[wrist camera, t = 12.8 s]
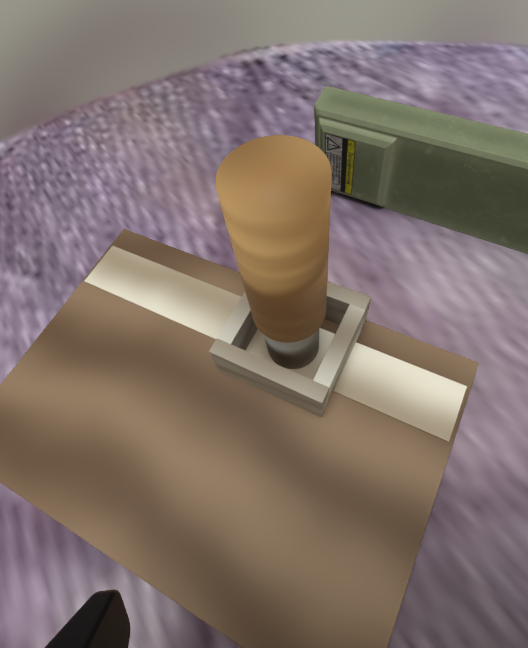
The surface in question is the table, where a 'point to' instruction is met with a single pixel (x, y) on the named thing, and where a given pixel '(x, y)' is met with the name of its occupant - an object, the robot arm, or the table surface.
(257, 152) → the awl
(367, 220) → the table surface
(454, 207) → the handheld radio
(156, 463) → the board
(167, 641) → the table surface
